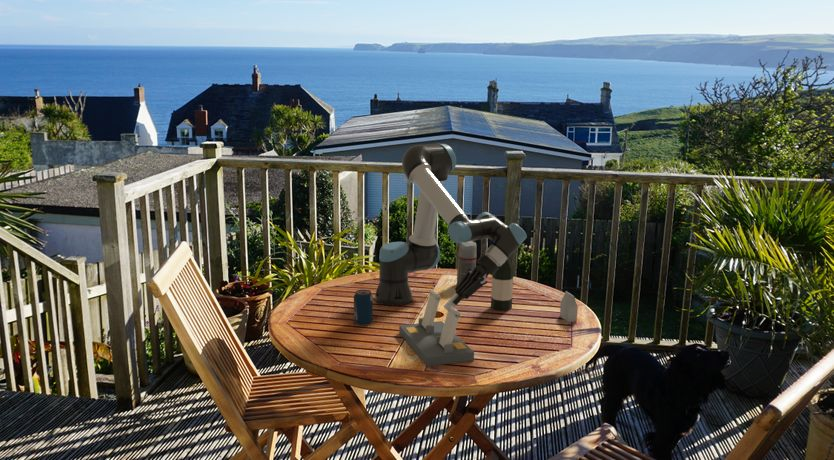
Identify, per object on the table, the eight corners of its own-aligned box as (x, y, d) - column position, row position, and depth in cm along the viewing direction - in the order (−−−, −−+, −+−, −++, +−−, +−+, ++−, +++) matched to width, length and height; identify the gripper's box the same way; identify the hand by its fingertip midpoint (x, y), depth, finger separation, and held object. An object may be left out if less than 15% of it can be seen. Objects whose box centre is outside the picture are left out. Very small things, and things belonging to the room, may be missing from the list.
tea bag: (567, 322, 257) (569, 296, 254) (559, 316, 263) (561, 291, 261) (576, 321, 257) (578, 296, 255) (568, 315, 264) (570, 290, 262)
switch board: (441, 328, 247) (441, 314, 246) (473, 360, 219) (474, 344, 218) (399, 333, 242) (399, 318, 241) (427, 366, 214) (427, 349, 213)
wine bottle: (511, 304, 276) (515, 232, 269) (512, 311, 267) (515, 237, 261) (490, 303, 276) (493, 231, 270) (490, 310, 268) (494, 236, 262)
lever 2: (443, 343, 225) (454, 306, 223) (450, 350, 219) (461, 312, 218) (438, 342, 224) (448, 305, 222) (444, 349, 218) (455, 311, 217)
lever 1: (425, 325, 241) (435, 290, 240) (431, 330, 236) (441, 295, 234) (420, 324, 241) (430, 289, 239) (426, 330, 235) (436, 294, 234)
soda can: (375, 321, 254) (376, 290, 251) (366, 327, 248) (366, 295, 245) (359, 318, 257) (359, 288, 254) (350, 324, 250) (350, 293, 248)
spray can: (477, 283, 303) (479, 240, 299) (472, 288, 296) (474, 244, 291) (459, 281, 306) (460, 238, 302) (454, 286, 298) (455, 242, 294)
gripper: (506, 272, 236) (460, 322, 235) (490, 262, 248) (446, 310, 247) (492, 258, 233) (446, 308, 232) (477, 249, 246) (433, 297, 244)
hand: (446, 309), depth 239 cm, fingers closed
